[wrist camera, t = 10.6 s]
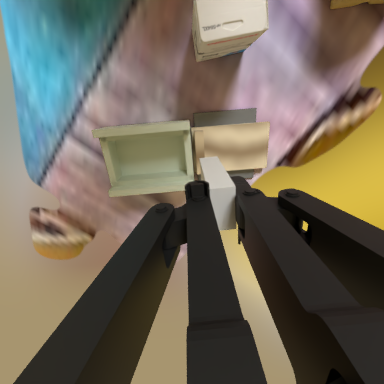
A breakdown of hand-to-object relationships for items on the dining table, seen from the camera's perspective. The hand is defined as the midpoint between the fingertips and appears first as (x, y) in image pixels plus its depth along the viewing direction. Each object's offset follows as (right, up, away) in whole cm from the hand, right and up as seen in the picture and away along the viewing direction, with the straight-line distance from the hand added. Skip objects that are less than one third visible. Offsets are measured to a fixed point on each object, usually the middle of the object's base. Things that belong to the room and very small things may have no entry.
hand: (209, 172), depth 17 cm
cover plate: (+6, +7, +23) cm, 25 cm away
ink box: (+3, +24, +17) cm, 30 cm away
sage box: (-10, +6, +24) cm, 27 cm away
